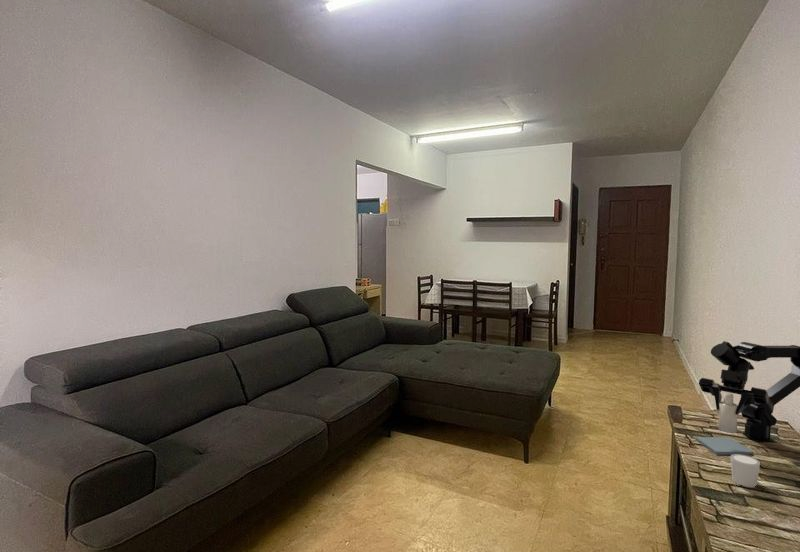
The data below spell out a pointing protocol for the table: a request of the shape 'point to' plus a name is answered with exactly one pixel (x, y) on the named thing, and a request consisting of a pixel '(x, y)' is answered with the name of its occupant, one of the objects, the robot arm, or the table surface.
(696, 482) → the table surface
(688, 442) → the table surface
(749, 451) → the slate board
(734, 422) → the cream bottle
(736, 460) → the shot glass
